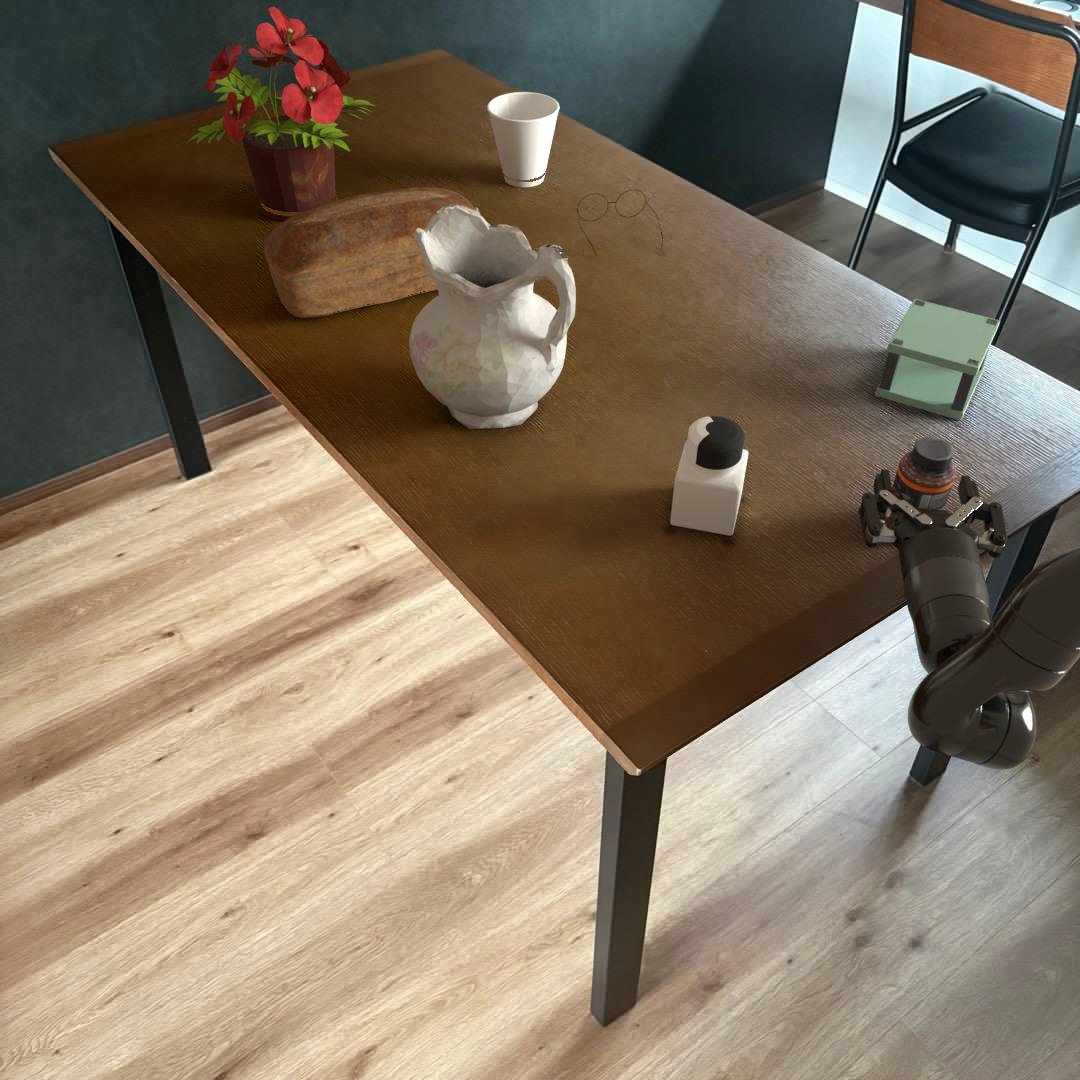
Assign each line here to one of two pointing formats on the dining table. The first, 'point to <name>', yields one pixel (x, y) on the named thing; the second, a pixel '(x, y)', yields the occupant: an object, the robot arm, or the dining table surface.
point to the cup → (523, 134)
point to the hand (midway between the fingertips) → (922, 478)
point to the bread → (354, 251)
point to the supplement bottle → (925, 475)
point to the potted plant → (285, 117)
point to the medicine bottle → (710, 476)
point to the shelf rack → (936, 358)
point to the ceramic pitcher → (489, 319)
